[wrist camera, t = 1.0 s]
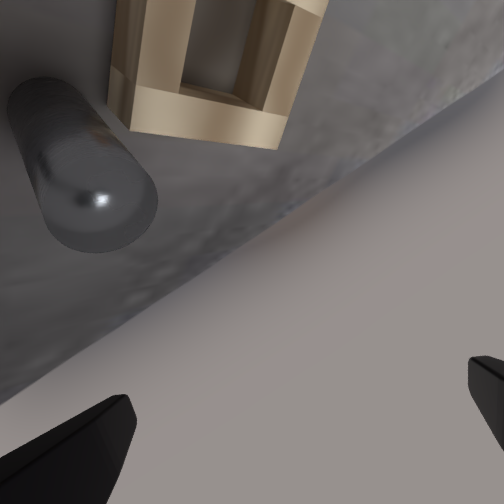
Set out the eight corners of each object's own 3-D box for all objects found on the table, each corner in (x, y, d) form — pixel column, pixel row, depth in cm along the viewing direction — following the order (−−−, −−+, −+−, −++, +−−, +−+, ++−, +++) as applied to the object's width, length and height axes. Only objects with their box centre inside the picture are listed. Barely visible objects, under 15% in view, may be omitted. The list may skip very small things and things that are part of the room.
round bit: (-9, 125, 18) (18, 230, 12) (33, 58, 17) (86, 133, 11) (66, 165, 21) (119, 265, 15) (105, 109, 20) (177, 189, 14)
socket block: (106, 105, 20) (129, 130, 18) (129, -129, 15) (165, -139, 13) (245, 128, 26) (277, 149, 24) (293, -34, 22) (338, -29, 19)
